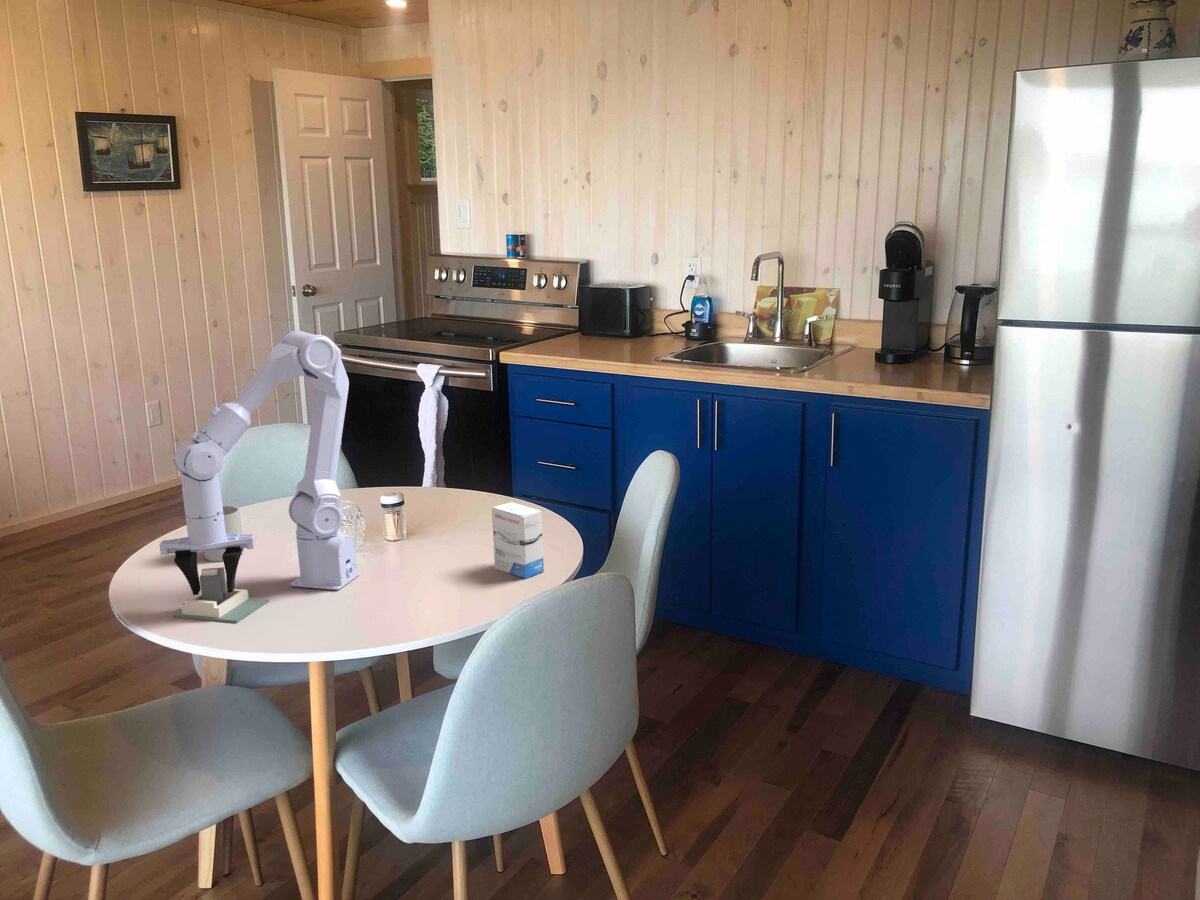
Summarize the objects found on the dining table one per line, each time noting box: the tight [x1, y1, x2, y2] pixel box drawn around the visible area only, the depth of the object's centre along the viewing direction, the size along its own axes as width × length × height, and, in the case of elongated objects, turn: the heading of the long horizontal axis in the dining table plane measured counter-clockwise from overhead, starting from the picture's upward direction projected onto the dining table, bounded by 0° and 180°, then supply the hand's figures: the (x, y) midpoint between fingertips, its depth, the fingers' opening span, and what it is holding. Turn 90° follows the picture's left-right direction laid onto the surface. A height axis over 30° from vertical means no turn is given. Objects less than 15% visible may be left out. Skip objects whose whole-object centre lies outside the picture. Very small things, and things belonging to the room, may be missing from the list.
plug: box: [199, 566, 228, 606], centre depth 161 cm, size 3×4×7 cm
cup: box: [203, 505, 245, 563], centre depth 186 cm, size 7×10×9 cm
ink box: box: [491, 501, 545, 579], centre depth 175 cm, size 8×5×12 cm, turn 47°
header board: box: [171, 588, 269, 624], centre depth 161 cm, size 12×9×3 cm
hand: (214, 591), depth 161 cm, fingers open, 5 cm apart
